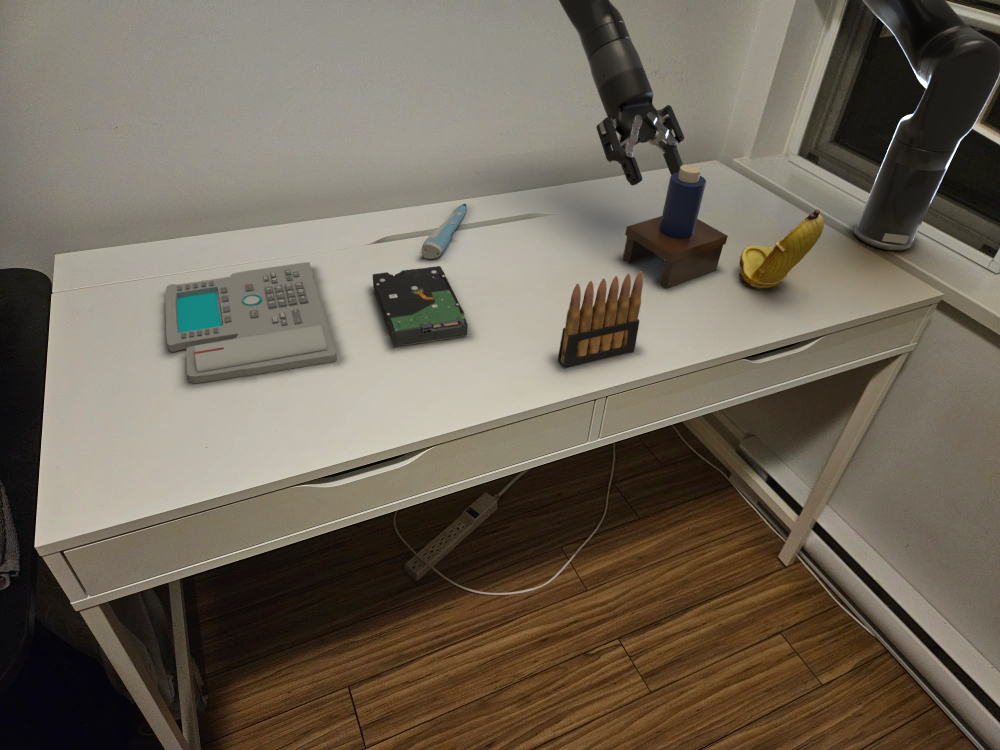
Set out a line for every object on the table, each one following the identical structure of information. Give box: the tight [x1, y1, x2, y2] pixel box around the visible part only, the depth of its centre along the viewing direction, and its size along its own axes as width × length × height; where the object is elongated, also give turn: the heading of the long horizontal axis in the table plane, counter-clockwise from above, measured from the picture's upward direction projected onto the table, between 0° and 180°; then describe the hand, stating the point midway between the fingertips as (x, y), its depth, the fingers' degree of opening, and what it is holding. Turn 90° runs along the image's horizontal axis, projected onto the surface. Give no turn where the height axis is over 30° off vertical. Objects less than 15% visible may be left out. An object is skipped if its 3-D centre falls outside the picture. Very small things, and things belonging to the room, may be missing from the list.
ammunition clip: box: [557, 270, 644, 369], centre depth 88 cm, size 11×2×12 cm, turn 113°
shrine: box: [738, 209, 825, 291], centre depth 103 cm, size 12×8×15 cm
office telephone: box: [165, 261, 338, 384], centre depth 92 cm, size 23×3×20 cm
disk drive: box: [372, 265, 469, 347], centre depth 96 cm, size 10×3×15 cm
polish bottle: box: [660, 164, 707, 239], centre depth 104 cm, size 5×5×10 cm
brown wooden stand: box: [622, 215, 729, 289], centre depth 109 cm, size 12×10×6 cm
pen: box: [420, 203, 467, 260], centre depth 115 cm, size 19×3×3 cm, turn 166°
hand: (657, 178), depth 107 cm, fingers open, 8 cm apart
